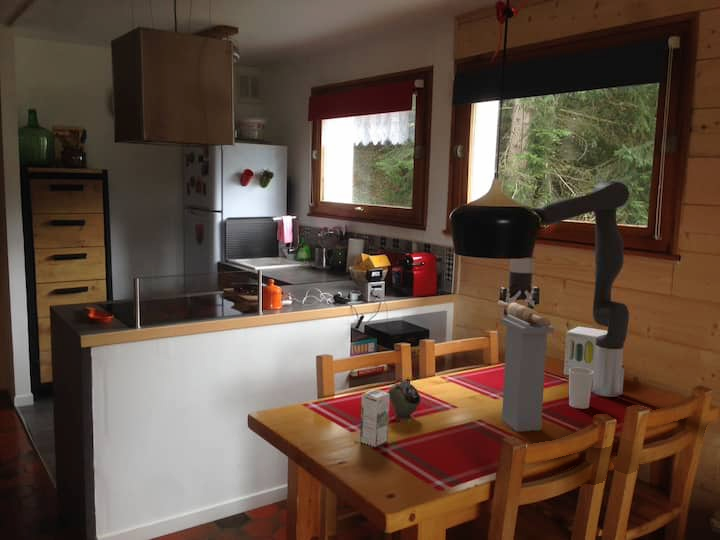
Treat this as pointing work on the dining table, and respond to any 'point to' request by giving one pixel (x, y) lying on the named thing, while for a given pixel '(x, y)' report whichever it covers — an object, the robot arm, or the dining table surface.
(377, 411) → the syrup box
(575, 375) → the cup
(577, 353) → the supplement box
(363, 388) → the dining table surface
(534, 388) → the stand
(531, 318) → the rolling pin
